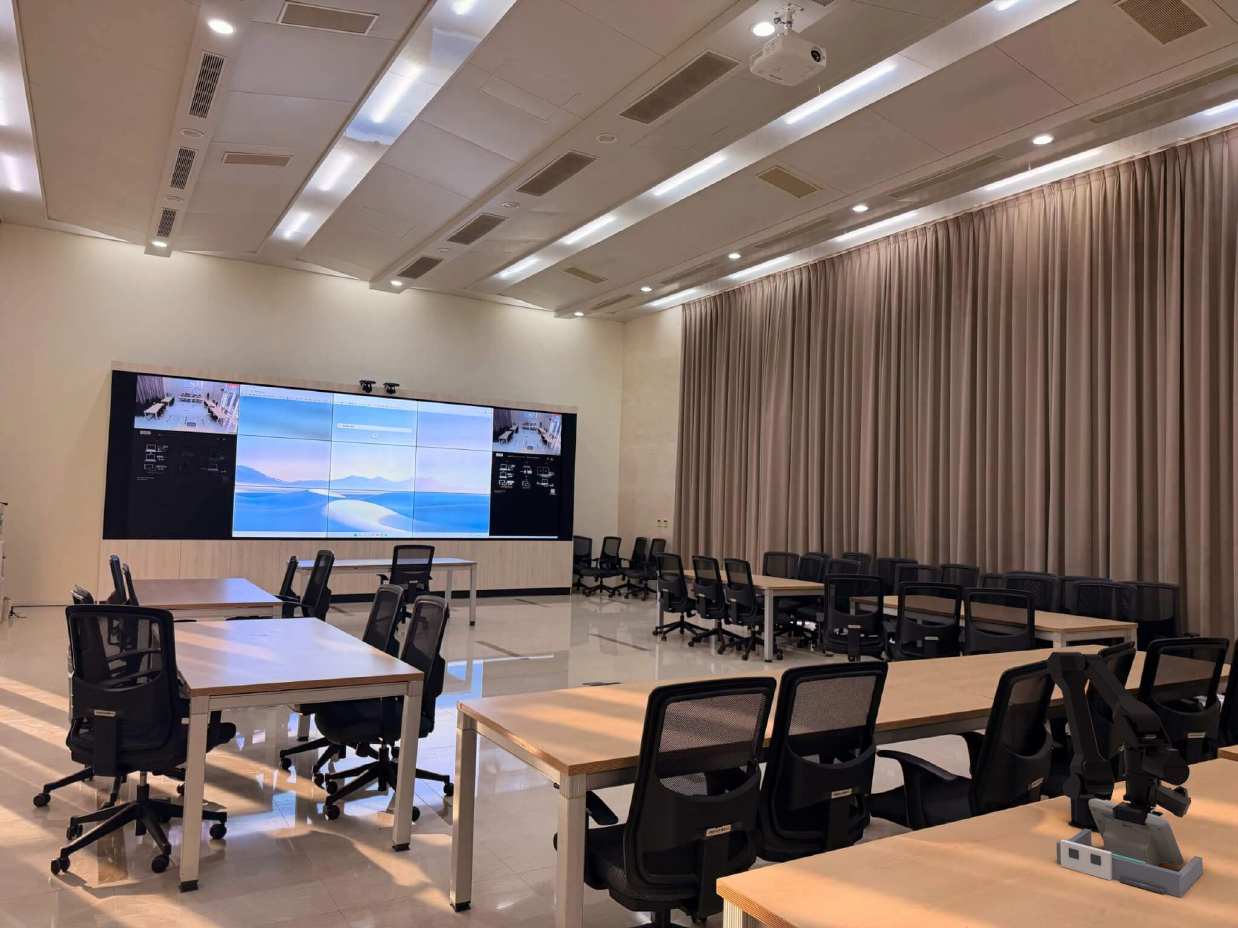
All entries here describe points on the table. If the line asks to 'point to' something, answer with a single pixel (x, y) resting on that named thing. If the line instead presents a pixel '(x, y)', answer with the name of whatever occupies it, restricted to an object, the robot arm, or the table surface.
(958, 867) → the table surface
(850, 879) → the table surface
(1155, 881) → the gray bracket
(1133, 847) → the digital clock
